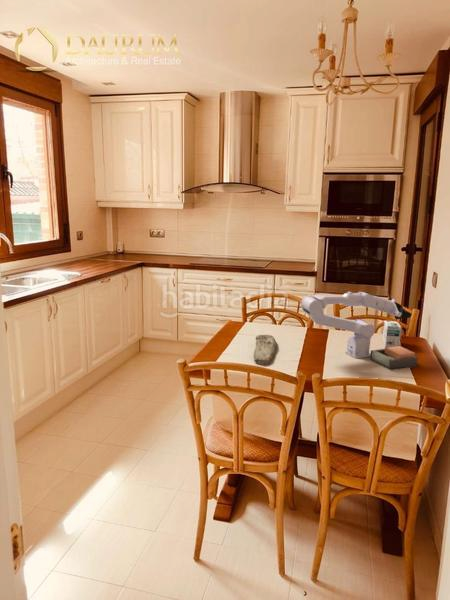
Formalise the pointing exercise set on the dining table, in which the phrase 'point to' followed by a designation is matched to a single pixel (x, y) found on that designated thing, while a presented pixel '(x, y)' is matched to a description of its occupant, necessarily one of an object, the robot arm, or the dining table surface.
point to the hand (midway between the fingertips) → (405, 311)
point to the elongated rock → (264, 349)
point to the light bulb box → (391, 333)
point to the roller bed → (392, 360)
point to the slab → (399, 352)
